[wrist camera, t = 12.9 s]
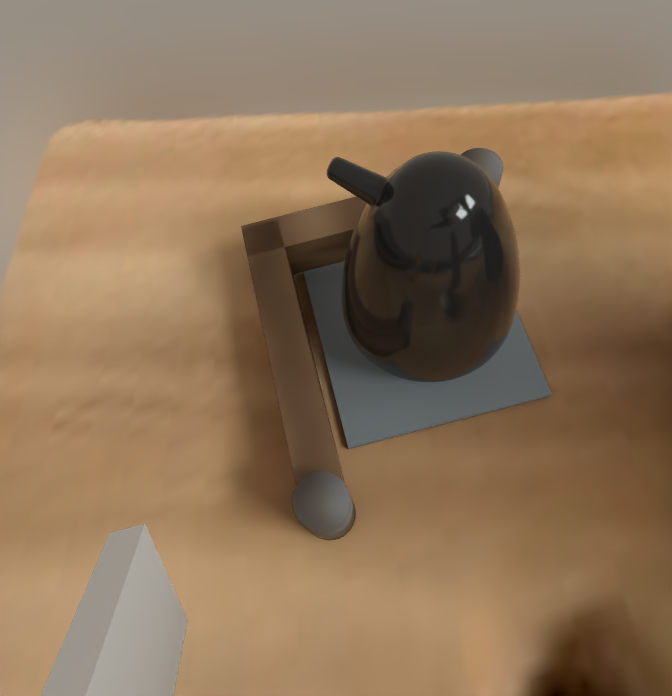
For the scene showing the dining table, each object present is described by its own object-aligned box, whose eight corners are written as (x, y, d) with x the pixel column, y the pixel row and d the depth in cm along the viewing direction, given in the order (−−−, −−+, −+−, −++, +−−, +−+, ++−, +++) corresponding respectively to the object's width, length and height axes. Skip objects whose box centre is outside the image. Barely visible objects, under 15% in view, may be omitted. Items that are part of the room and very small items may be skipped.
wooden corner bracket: (483, 192, 43) (493, 143, 38) (603, 468, 34) (635, 447, 30) (248, 252, 43) (231, 210, 38) (311, 545, 34) (298, 537, 30)
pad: (480, 229, 42) (481, 225, 41) (550, 396, 37) (552, 394, 36) (303, 274, 42) (303, 271, 41) (348, 449, 36) (348, 447, 36)
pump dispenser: (374, 245, 42) (365, 65, 28) (520, 286, 39) (590, 112, 25) (320, 371, 38) (278, 238, 24) (477, 425, 36) (530, 312, 22)
